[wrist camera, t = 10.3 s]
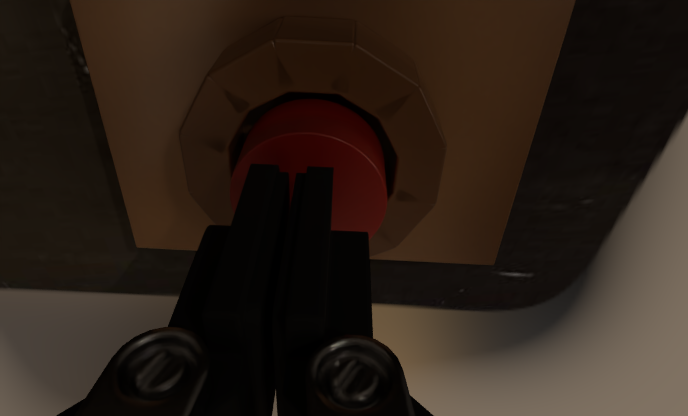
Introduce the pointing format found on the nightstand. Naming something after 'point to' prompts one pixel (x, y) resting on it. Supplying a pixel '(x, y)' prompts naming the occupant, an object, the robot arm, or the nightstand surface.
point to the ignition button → (321, 158)
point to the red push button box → (333, 85)
